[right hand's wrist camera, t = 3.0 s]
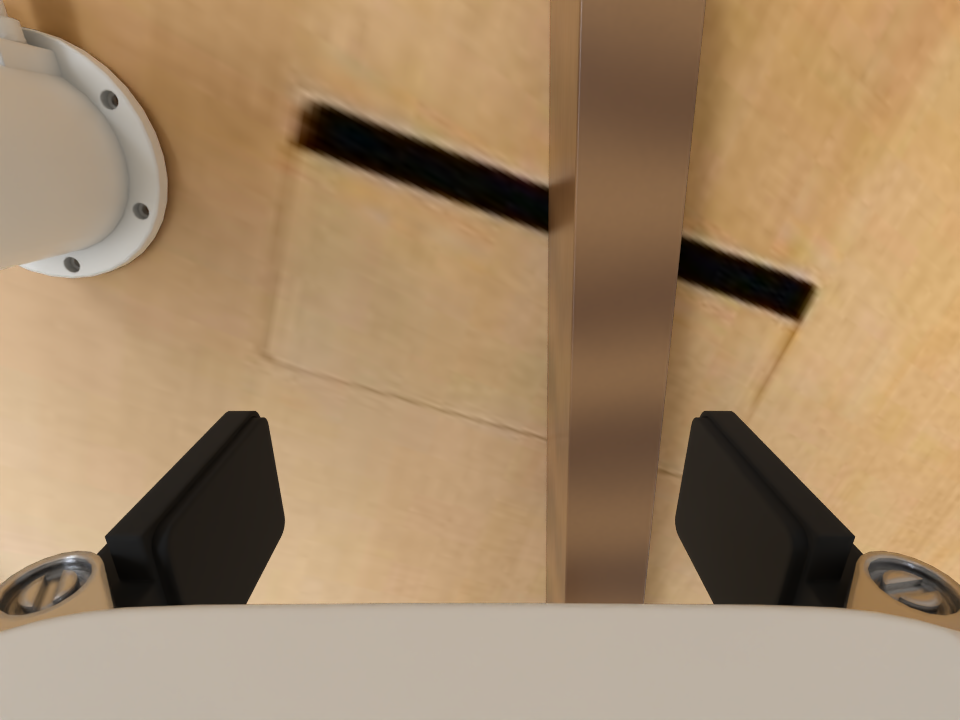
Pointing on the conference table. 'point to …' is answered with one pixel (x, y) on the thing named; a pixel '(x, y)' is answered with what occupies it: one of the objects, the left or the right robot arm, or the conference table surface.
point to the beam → (612, 278)
